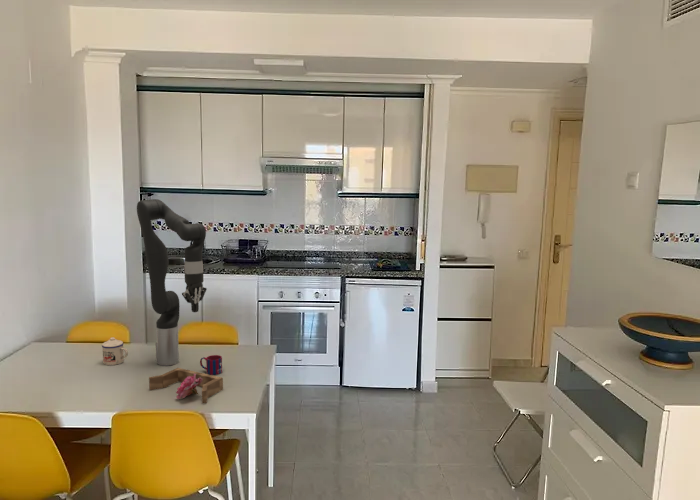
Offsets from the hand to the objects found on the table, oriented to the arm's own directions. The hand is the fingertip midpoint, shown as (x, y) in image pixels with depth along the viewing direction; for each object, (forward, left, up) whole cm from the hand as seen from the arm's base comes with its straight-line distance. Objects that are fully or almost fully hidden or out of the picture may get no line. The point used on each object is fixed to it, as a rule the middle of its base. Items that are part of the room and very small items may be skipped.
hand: (195, 311), depth 223 cm
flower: (+11, -17, -29) cm, 35 cm away
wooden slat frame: (+6, -12, -29) cm, 32 cm away
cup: (+1, +8, -29) cm, 30 cm away
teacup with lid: (-45, -3, -29) cm, 54 cm away
